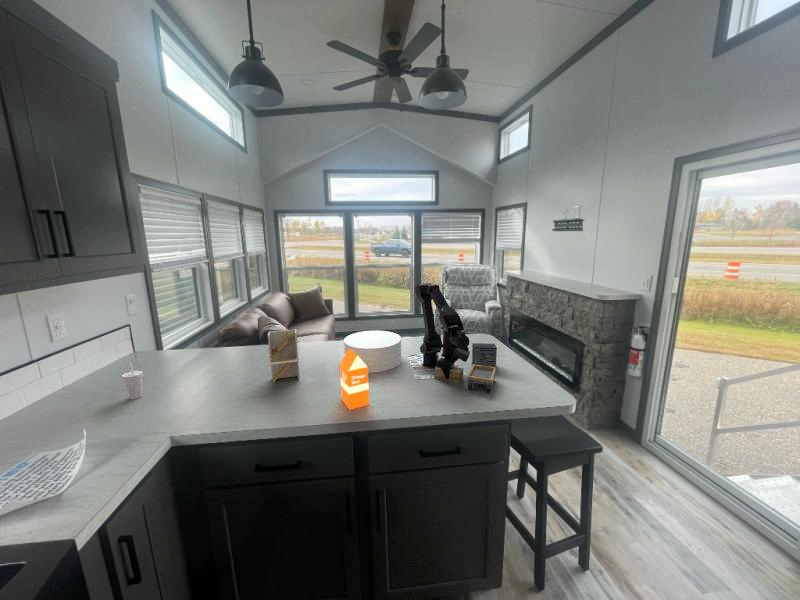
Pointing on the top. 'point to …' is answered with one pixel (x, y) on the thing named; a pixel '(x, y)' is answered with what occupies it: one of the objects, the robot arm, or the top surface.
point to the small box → (484, 354)
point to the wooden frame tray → (481, 376)
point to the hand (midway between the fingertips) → (448, 376)
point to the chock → (454, 376)
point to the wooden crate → (283, 354)
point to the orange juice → (354, 380)
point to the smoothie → (133, 383)
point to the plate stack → (375, 349)
